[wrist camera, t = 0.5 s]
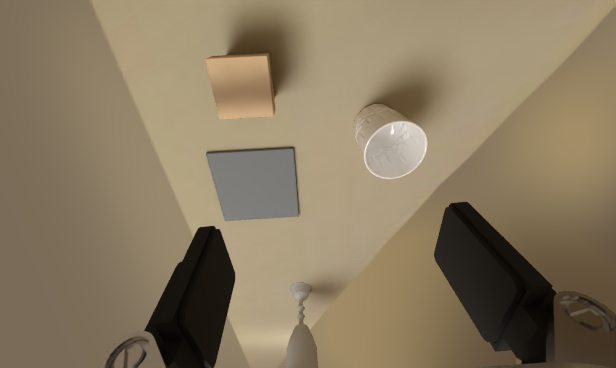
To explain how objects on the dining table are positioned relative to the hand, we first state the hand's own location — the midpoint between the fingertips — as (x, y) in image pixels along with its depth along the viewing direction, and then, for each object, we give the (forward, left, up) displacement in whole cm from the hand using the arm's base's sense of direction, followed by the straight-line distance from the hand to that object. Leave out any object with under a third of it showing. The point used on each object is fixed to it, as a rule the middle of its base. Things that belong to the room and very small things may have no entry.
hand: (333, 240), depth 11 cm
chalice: (+46, -3, -31) cm, 56 cm away
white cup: (+6, +11, -31) cm, 33 cm away
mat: (+16, -9, -31) cm, 36 cm away
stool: (-2, -7, -31) cm, 31 cm away
